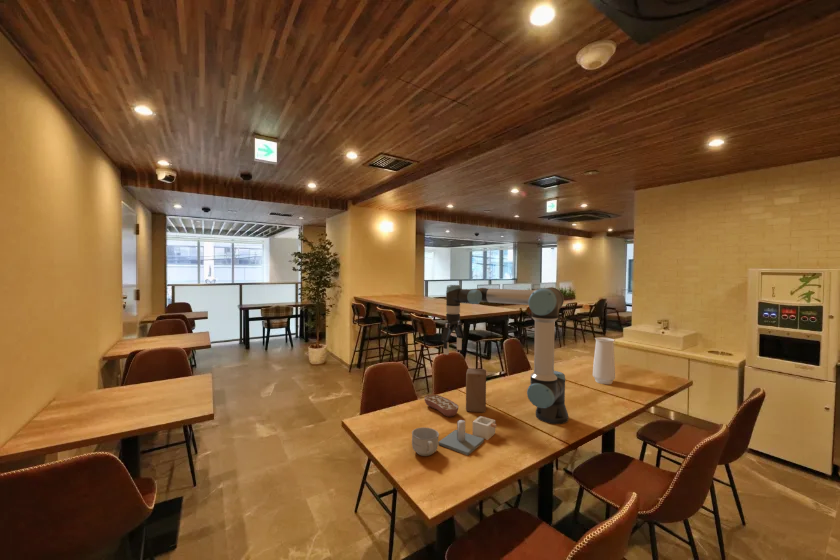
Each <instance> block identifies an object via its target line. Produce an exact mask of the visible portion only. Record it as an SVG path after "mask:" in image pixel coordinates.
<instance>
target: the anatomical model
mask: <svg viewBox="0 0 840 560" xmlns="http://www.w3.org/2000/svg"><path fill="white" fill-rule="evenodd" d="M423 400H424V403H425V404H426V406H428V407H429V408H432V409H434V410H436V411H438V412H440V413H441V414H442V415H444V416H446V417H448V418H450V417H454V416H455V415H457V413H458V411H459V405H458V404H457V403H455V402H454V401H452V400H450V399H448V398H446V397H444V396H441V395H439V394H434V393H433V394H426V395H425V396H424V399H423Z"/></svg>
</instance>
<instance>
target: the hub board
mask: <svg viewBox="0 0 840 560" xmlns="http://www.w3.org/2000/svg"><path fill="white" fill-rule="evenodd" d="M456 423H457V424H456V426H457V428H456V429H454V430H453V431H452V432H451V433H449V434H447V435H446V436H445V437H443V438H441V439H440V440H438V446H441V447H442V448H446V449H449V450H451V451H455V452H457V453H460V454H462V455H465V456H469V455H471V453H473V452H474V451H475V450H476V449H477V448H479V446H481V445H482V444H483V443H484V442H485V439H484V438H480V437H477V436H474V435H473V434H471V433H467V432H466V420H464V419H459V420H457V422H456Z"/></svg>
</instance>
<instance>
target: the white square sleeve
mask: <svg viewBox="0 0 840 560" xmlns="http://www.w3.org/2000/svg"><path fill="white" fill-rule="evenodd" d="M496 428H497V423H496V419H493V418H489V417H486V416H481V415H480V416H478V417H477V418H475V419H474V420H473V421H472V435H474V436H477V437H480V438H483V439H484V440H486V441H489V439H491V438H492V437H493V436H494V435H495V434H496Z"/></svg>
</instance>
